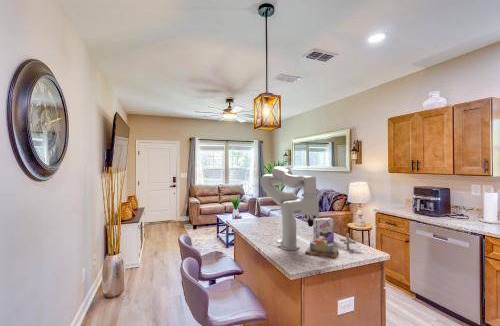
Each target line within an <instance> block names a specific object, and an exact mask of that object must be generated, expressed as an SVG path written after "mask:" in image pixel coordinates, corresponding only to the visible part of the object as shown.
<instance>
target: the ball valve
mask: <svg viewBox="0 0 500 326" xmlns="http://www.w3.org/2000/svg"><path fill="white" fill-rule="evenodd" d="M334 246H335V245H334V243H328V242H327V241H326V240H322V244H321V245H316V244H315V241H314V240H311V242H310V243H309V247H310V250H311V251H313V250H315V251H316V252H323V253H326V252H329V253H333V252H334V249H335V247H334Z"/></svg>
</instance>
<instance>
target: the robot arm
mask: <svg viewBox="0 0 500 326" xmlns="http://www.w3.org/2000/svg"><path fill="white" fill-rule="evenodd" d="M282 184H284V185H286V186H287V187H290V188H294V189H295V188H303V193H302V194H301V197H302V199H301V198H299V196H298V195H296V193H294V192H292V191H282V190H281V189H280V187H277V186H280V185H282ZM260 186H261V188H262V189H263V191H264V192H265V193H266V194H267V195H268V196H269V197H270V198H271V199H272V200H273V201H274V202H275V203H276V204H277V205H278V206H280V212H281V222H282V223H281V225H282V227H281V229H282V231H281V232H282V239H277V240H276V243H277V244H280V246H279V247H280V249H282V250H285V251H296V250H298V249H299V248H300V245H298V244H297V220H296V217H295V216H294V215H300V214H301V216H302V217H304V218H306V220H307V225H308V227H310V228H312V227H313V219H317V218H320V206H319V200H318V198H317V177H316V176H314V175H293V172H292V170H291V168H290V167H289V166H282V165H281V166H274V167H273V168H272V169H271V173H269V174H268V173H267V174H264V175H262V176H261V178H260Z"/></svg>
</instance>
